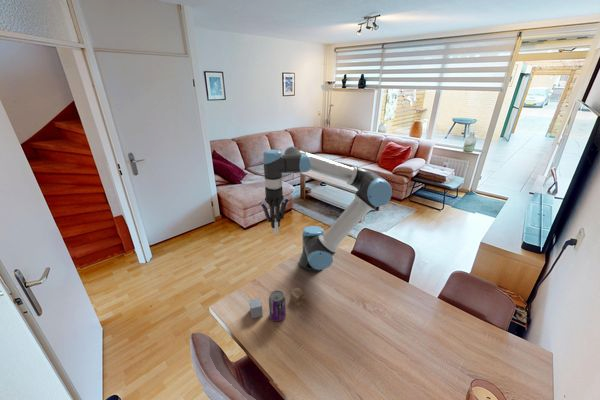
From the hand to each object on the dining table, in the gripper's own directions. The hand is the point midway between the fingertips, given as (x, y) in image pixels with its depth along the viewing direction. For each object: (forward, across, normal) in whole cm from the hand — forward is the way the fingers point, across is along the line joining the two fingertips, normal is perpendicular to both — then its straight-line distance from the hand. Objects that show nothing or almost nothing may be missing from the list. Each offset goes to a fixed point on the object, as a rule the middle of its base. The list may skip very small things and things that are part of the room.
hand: (275, 233), depth 120 cm
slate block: (+31, +16, +13) cm, 37 cm away
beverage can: (+31, +8, +19) cm, 37 cm away
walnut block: (+31, -4, +15) cm, 34 cm away
